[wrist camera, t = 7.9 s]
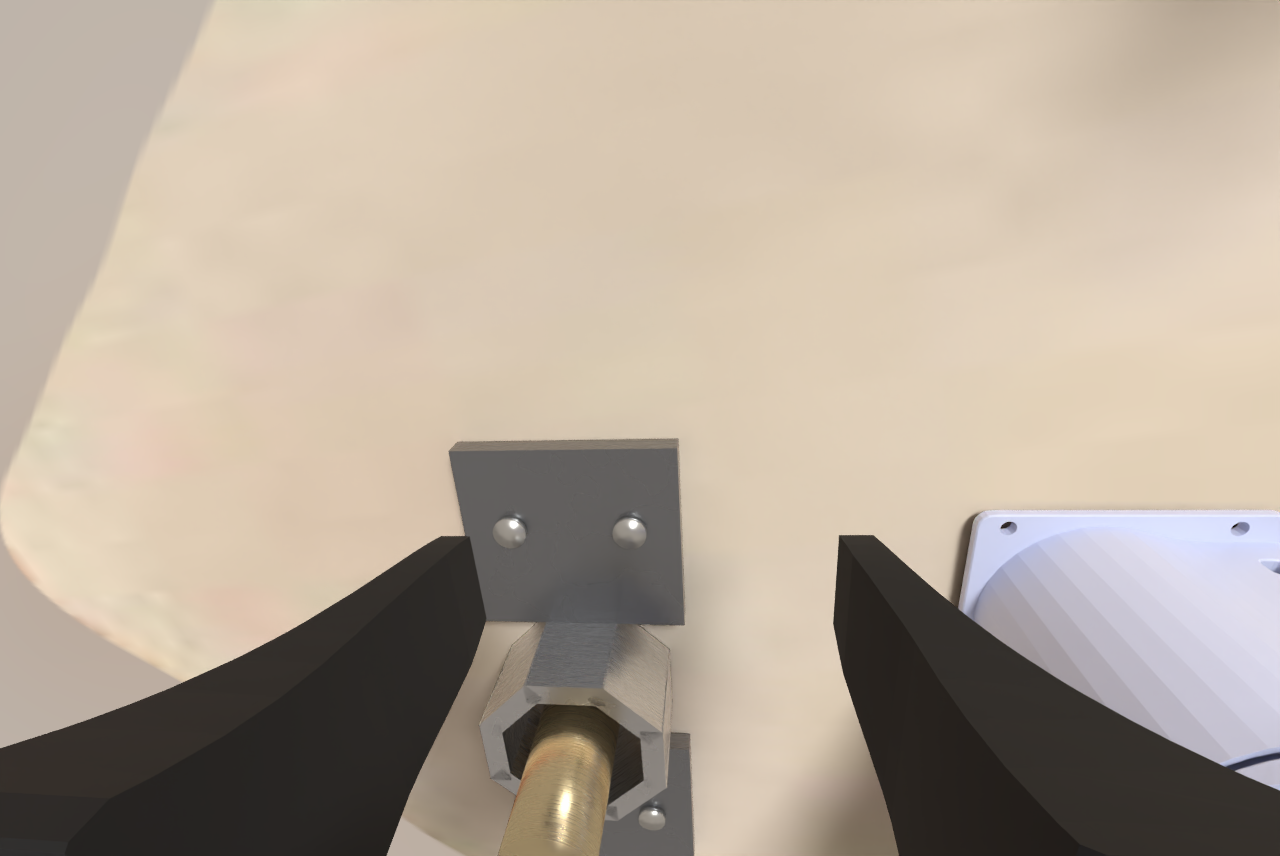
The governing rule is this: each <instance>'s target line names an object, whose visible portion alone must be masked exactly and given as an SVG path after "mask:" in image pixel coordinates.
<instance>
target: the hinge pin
mask: <svg viewBox="0 0 1280 856" xmlns="http://www.w3.org/2000/svg"><path fill="white" fill-rule="evenodd" d="M619 727H620V724H619V723H618V722H617V721H615V720H614V719H612V718H611V717H610V716H608V715H607V714H606V713H604V712H603V711H602V710H600V709H599V708H597V707H596V706H583V705H557V704H544V707H543V710H542V714H541V717H540V720H539V723H538V727H537V730H536V733H535V736H534V740H533V743H532V746H531V749H530V753H529V756H528V759H527V762H526V766H525V769H524V772H523V775H522V779H521V782H520V785H519V788H518V792H517V795H516V798H515V801H514V805H513V808H512V811H511V814H510V818H509V821H508V824H507V827H506V831H505V834H504V837H503V841H502V844H501V847H500V850H499V854H498V856H599V852H600V846H601V839H602V833H603V827H604V820H605V814H606V808H607V802H608V795H609V789H610V783H611V777H612V770H613V764H614V758H615V752H616V745H617V739H618V733H619Z"/></svg>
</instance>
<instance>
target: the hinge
mask: <svg viewBox="0 0 1280 856" xmlns="http://www.w3.org/2000/svg"><path fill="white" fill-rule="evenodd" d="M449 456H450V461H451V466H452V471H453V476H454V481H455V486H456V491H457V496H458V501H459V506H460V511H461V516H462V521H463V526H464V531H465V536H470V540H471V545H472V550H473V555H474V560H475V565H476V569H477V574H478V579H479V584H480V589H481V594H482V599H483V603H484V608H485V613H486V618H487V619H486V621H514V622H537V623H536V624H535V625H534V626H533V627H532V628H531V629H529V630H528V631H527V632H526V633H525V634H524V635H523V636H522V637H521V638H520V639H519V640H518V641H516V642H515V643H514V644H513V645H512V647H511V649H510V651H509V654H508V656H507V659H506V661H505V663H504V666H503V668H502V670H501V673H500V675H499V678H498V680H497V682H496V685H495V687H494V690H493V692H492V694H491V697H490V699H489V702H488V704H487V706H486V709H485V711H484V714H483V716H482V718H481V721H480V723H479V726H480V731H481V736H482V740H483V745H484V749H485V754H486V758H487V763H488V767H489V772H490V776H491V779H492V780H494V781H495V782H497V783H498V784H500V785H501V786H503V787H504V788H506V789H507V790H509V791H510V792H512V793H513V794H515V795H517V792H518V788H519V785H520V782H521V779H522V775H523V772H524V769H525V766H526V762H527V759H528V756H529V753H530V749H531V746H532V743H533V740H534V736H535V733H536V730H537V727H538V723H539V720H540V717H541V714H542V710H543V707H544V704H557V705H583V706H596V707H597V708H599V709H600V710H602V711H603V712H604V713H606V714H607V715H608V716H610V717H611V718H612V719H614V720H615V721H617V722H618V723H619V724H620V727H619V733H618V739H617V745H616V752H615V758H614V764H613V770H612V777H611V783H610V789H609V795H608V802H607V808H606V814H605V820H604V827H603V833H602V839H601V846H600V852H599V856H694V822H693V797H692V771H691V746H690V734H682V733H671V717H672V702H673V699H672V688H671V669H670V649H668V648H667V647H666V646H665V645H663V644H662V643H661V642H659V641H658V640H657V639H656V638H654V637H653V636H652V635H650V634H649V633H648V632H647V631H645V630H644V629H643V628H641V627H640V626H639V625H638V624H652V625H685V594H684V569H683V544H682V518H681V493H680V468H679V443H678V439H627V440H559V441H491V442H457V443H456V444H455V445H454V446H453V447H452V448H451V449H450V450H449Z"/></svg>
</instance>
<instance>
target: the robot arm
mask: <svg viewBox="0 0 1280 856" xmlns="http://www.w3.org/2000/svg"><path fill="white" fill-rule="evenodd" d="M1005 522H1012V523H1011V524H1010V526H1009V527H1007V528H1004V529H1000V528H1001V526H1002V525H1003V524H1004V523H1005ZM1237 523H1239V524H1238V525H1237V526H1236V527H1234V528H1233V529H1231V528H1232V527H1233V525H1235V524H1237ZM486 619H487V618H486V613H485V608H484V603H483V599H482V594H481V589H480V584H479V579H478V574H477V569H476V565H475V560H474V555H473V550H472V545H471V540H470V536H441V537H439V538H437V539H435V540H433V541H432V542H430V543H428V544H427V545H425V546H423V547H422V548H420V549H419V550H417V551H416V552H414V553H412V554H411V555H409V556H408V557H406V558H405V559H403V560H402V561H400V562H399V563H397V564H396V565H394V566H393V567H391V568H390V569H388V570H387V571H385V572H384V573H382V574H381V575H379V576H378V577H376V578H375V579H373V580H372V581H370V582H369V583H367V584H365V585H364V586H362V587H361V588H359V589H358V590H356V591H355V592H353V593H352V594H350V595H348V596H347V597H345V598H343V599H342V600H340V601H339V602H337V603H335V604H334V605H332V606H330V607H329V608H327V609H326V610H324V611H322V612H321V613H319V614H317V615H316V616H314V617H312V618H311V619H309V620H308V621H306V622H304V623H302V624H301V625H299V626H297V627H295V628H294V629H292V630H290V631H288V632H286V633H285V634H283V635H281V636H279V637H277V638H275V639H274V640H272V641H270V642H268V643H266V644H264V645H262V646H260V647H258V648H256V649H254V650H252V651H250V652H248V653H246V654H244V655H242V656H240V657H238V658H236V659H234V660H232V661H230V662H228V663H225V664H223V665H221V666H219V667H217V668H214V669H212V670H210V671H208V672H205V673H203V674H201V675H199V676H196V677H194V678H192V679H190V680H188V681H185V682H183V683H181V684H179V685H176V686H174V687H172V688H170V689H167V690H165V691H162V692H160V693H157V694H155V695H152V696H150V697H148V698H145V699H142V700H140V701H137V702H135V703H132V704H130V705H127V706H124V707H122V708H119V709H116V710H113V711H111V712H108V713H105V714H103V715H100V716H97V717H94V718H92V719H89V720H86V721H84V722H81V723H77V724H75V725H72V726H69V727H66V728H63V729H60V730H57V731H53V732H50V733H48V734H44V735H41V736H38V737H35V738H32V739H28V740H25V741H22V742H19V743H16V744H13V745H10V746H7V747H3V748H0V856H386V855H387V853H388V850H389V847H390V845H391V842H392V839H393V837H394V834H395V831H396V828H397V826H398V823H399V821H400V818H401V815H402V813H403V810H404V807H405V805H406V802H407V799H408V797H409V794H410V792H411V790H412V788H413V785H414V783H415V781H416V779H417V776H418V774H419V772H420V770H421V768H422V766H423V763H424V761H425V759H426V757H427V755H428V753H429V751H430V749H431V747H432V745H433V743H434V741H435V739H436V737H437V735H438V733H439V731H440V729H441V727H442V725H443V723H444V721H445V719H446V717H447V715H448V713H449V711H450V709H451V706H452V704H453V702H454V700H455V698H456V696H457V694H458V692H459V690H460V688H461V686H462V684H463V682H464V680H465V677H466V675H467V673H468V671H469V669H470V667H471V665H472V662H473V659H474V656H475V653H476V650H477V647H478V644H479V641H480V638H481V635H482V632H483V628H484V625H485V622H486ZM833 624H834V630H835V635H836V640H837V645H838V650H839V655H840V660H841V665H842V669H843V674H844V677H845V680H846V683H847V686H848V690H849V693H850V696H851V699H852V702H853V705H854V708H855V711H856V714H857V717H858V720H859V723H860V726H861V729H862V732H863V735H864V738H865V741H866V744H867V746H868V749H869V752H870V755H871V758H872V761H873V764H874V767H875V770H876V773H877V776H878V779H879V782H880V785H881V788H882V791H883V794H884V798H885V801H886V805H887V808H888V812H889V815H890V818H891V822H892V826H893V831H894V835H895V839H896V843H897V848H898V852H899V856H1280V512H1278V511H1274V510H988V511H984V512H982V513H980V514H978V515H977V516H976V517H975V519H974V522H973V525H972V531H971V537H970V543H969V548H968V554H967V560H966V566H965V571H964V577H963V583H962V589H961V594H960V600H959V606H958V608H957V607H955V606H954V605H953V604H952V603H950V602H949V601H948V600H947V599H945V598H944V597H943V596H942V595H941V594H939V593H938V592H937V591H936V590H935V589H933V588H932V587H931V586H930V585H929V584H928V583H926V582H925V581H924V580H923V579H922V578H921V577H920V576H918V575H917V574H916V573H915V572H914V571H913V570H912V569H911V568H909V567H908V566H907V565H906V564H905V563H904V562H903V561H902V560H900V559H899V558H898V557H897V556H896V555H895V554H894V553H893V552H892V551H891V550H889V549H888V548H887V547H886V546H885V545H884V544H883V543H882V542H881V541H879V540H878V539H877V538H876V537H875V536H874V535H839V547H838V562H837V576H836V591H835V606H834V621H833Z"/></svg>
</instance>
